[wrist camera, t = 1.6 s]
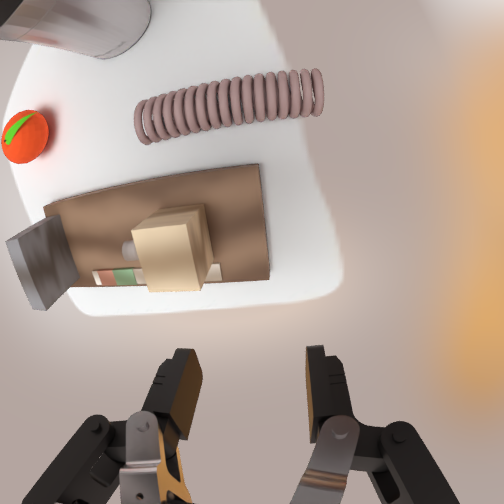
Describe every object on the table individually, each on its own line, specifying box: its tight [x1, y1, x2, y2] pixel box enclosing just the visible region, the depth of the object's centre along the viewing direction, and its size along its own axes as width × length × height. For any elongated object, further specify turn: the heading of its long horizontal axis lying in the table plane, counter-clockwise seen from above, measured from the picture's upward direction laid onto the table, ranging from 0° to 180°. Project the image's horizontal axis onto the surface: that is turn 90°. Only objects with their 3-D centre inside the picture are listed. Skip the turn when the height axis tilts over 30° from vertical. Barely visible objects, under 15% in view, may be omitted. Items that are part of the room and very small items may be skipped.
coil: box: [134, 69, 324, 145], centre depth 22 cm, size 5×5×18 cm
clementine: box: [1, 110, 49, 164], centre depth 22 cm, size 8×7×7 cm
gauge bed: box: [6, 164, 270, 311], centre depth 26 cm, size 12×28×10 cm, turn 96°
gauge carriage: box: [122, 204, 214, 292], centre depth 26 cm, size 8×8×6 cm
